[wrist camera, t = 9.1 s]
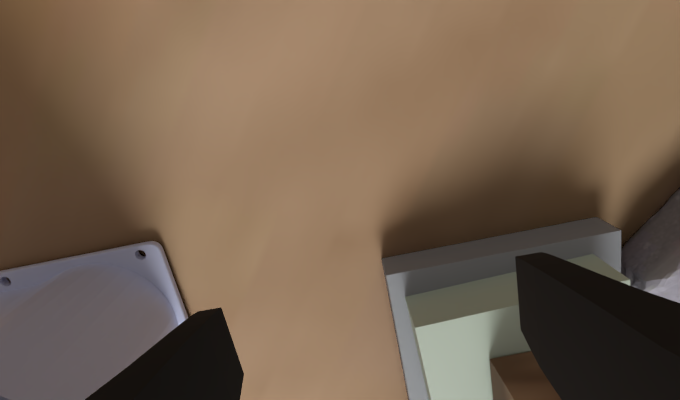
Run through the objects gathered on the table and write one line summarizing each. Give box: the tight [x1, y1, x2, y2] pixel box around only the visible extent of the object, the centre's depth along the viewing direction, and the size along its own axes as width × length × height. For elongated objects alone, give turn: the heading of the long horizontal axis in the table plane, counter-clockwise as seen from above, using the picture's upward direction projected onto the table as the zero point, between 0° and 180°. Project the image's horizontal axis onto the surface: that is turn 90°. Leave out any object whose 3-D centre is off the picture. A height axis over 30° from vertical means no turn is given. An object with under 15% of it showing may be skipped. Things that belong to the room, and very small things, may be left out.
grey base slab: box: [382, 217, 621, 400], centre depth 22 cm, size 11×11×2 cm
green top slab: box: [405, 254, 630, 400], centre depth 19 cm, size 9×9×2 cm
